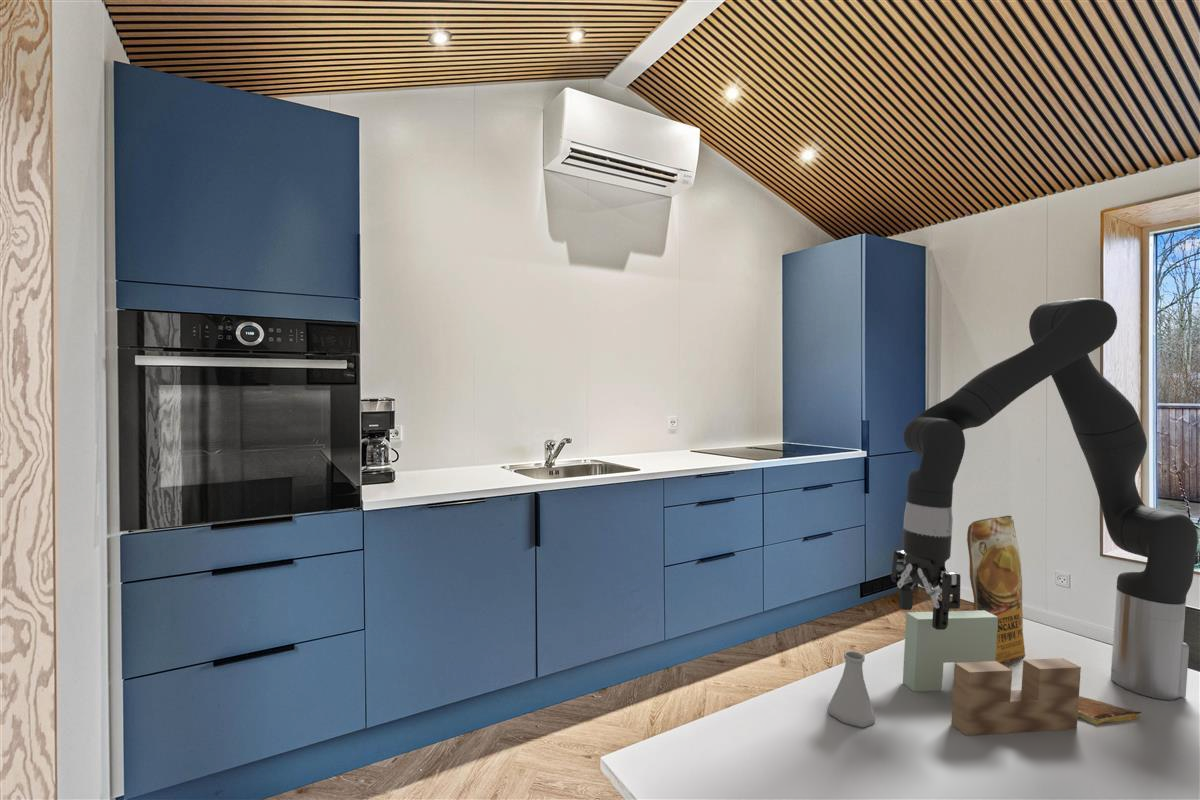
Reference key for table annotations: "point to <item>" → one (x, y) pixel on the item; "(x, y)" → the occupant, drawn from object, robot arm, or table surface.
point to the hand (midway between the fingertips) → (921, 618)
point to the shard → (1103, 711)
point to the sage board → (945, 645)
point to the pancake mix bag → (998, 581)
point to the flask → (852, 694)
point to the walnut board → (1015, 697)
